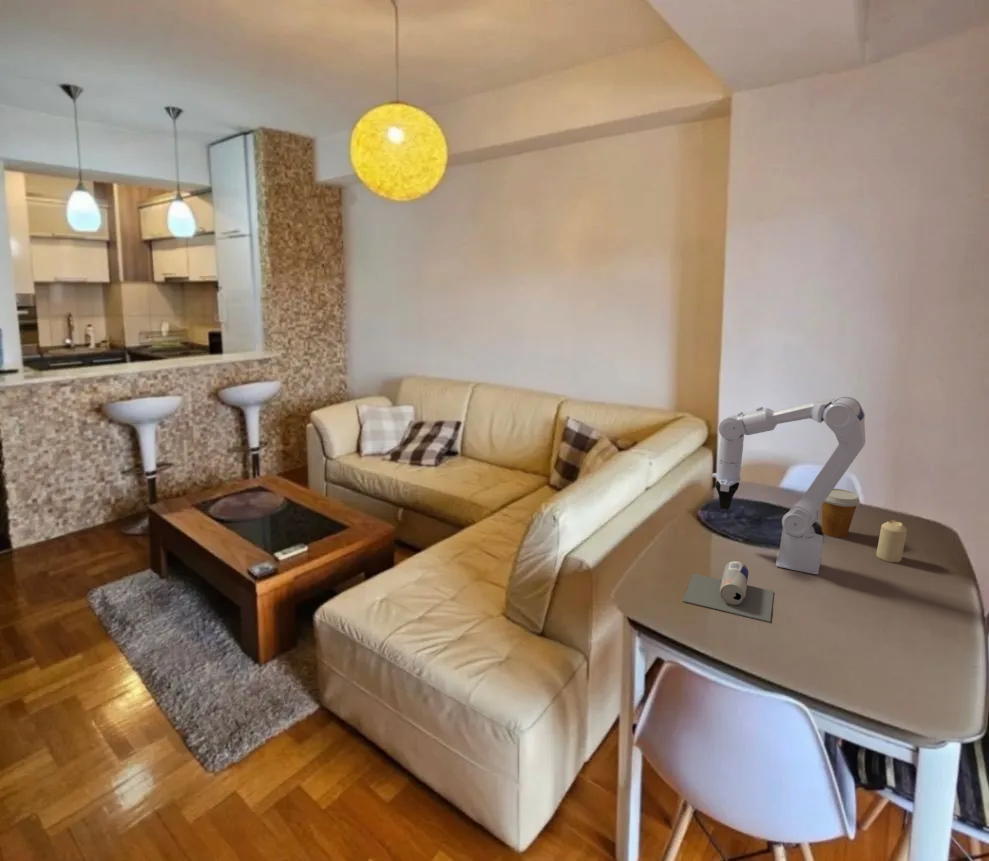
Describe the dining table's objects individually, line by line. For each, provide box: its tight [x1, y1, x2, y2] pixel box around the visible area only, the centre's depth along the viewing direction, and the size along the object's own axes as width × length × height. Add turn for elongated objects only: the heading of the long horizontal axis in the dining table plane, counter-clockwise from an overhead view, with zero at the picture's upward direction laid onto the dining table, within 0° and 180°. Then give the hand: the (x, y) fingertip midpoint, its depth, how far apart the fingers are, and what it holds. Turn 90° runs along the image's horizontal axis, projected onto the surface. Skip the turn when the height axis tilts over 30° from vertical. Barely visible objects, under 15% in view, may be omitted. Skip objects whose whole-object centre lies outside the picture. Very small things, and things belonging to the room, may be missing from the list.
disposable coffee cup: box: [821, 487, 860, 538], centre depth 167 cm, size 10×10×12 cm
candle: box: [876, 519, 908, 563], centre depth 153 cm, size 6×6×10 cm
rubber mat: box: [682, 573, 774, 623], centre depth 135 cm, size 18×14×1 cm
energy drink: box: [720, 560, 749, 605], centre depth 136 cm, size 5×5×12 cm
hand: (724, 508), depth 159 cm, fingers closed
